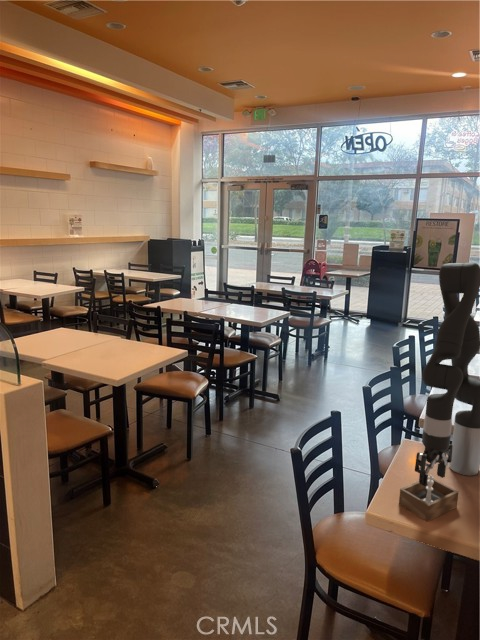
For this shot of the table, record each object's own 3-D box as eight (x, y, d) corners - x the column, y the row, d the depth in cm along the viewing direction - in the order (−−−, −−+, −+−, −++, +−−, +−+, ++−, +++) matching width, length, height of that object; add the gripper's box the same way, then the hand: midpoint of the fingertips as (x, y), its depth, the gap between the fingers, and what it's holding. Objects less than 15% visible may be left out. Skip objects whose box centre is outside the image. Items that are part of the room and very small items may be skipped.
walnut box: (428, 491, 147) (429, 476, 146) (456, 507, 139) (458, 492, 138) (398, 503, 140) (400, 488, 139) (427, 521, 132) (429, 505, 131)
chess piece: (438, 511, 137) (441, 480, 135) (420, 508, 138) (423, 478, 136) (434, 501, 142) (437, 471, 140) (417, 499, 143) (420, 470, 141)
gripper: (440, 420, 141) (435, 468, 145) (410, 430, 134) (405, 481, 137) (463, 429, 135) (457, 479, 139) (433, 441, 128) (427, 493, 131)
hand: (431, 480), depth 138 cm, fingers open, 8 cm apart
